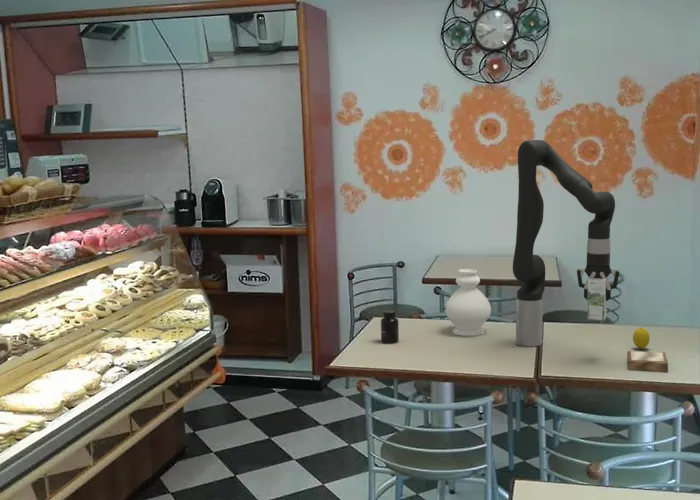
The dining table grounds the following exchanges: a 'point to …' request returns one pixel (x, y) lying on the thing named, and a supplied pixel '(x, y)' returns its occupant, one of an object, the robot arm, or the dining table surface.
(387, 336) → the supplement bottle
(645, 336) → the lemon
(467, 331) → the decorative vase
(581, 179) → the robot arm
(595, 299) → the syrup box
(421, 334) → the dining table surface
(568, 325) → the dining table surface
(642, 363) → the plinth
